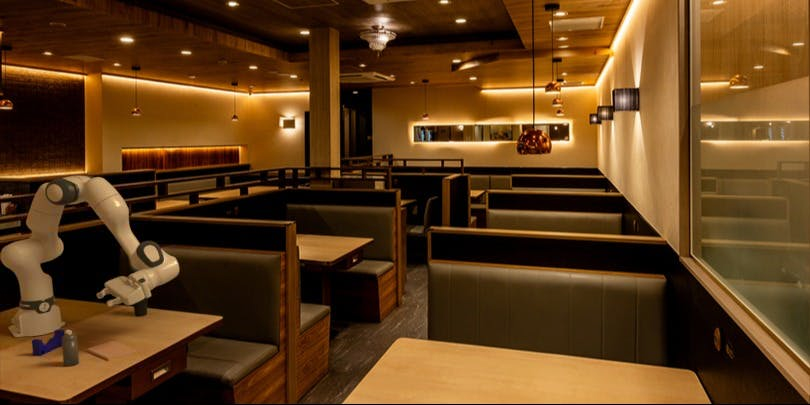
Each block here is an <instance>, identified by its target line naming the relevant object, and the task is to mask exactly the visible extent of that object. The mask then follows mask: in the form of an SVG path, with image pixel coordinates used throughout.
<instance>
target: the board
mask: <svg viewBox="0 0 810 405" xmlns="http://www.w3.org/2000/svg"><path fill="white" fill-rule="evenodd" d="M136 351H137V350H136V348H133V347H130V346H128V345H126V344H123V343H121V342H118V341H115V340H111V341H108V342H104V343H101V344H98V345H94V346H91V347H88V348H86V352H88V353H90V354H93V355H95V356H97V357H99V358H101V359H103V360H106V361H108V362H109V360H110V361H113V360H115V358H116V359H118V357H119V358H121V356H122V357H125V356H127V355H130V354H134V353H136ZM124 355H125V356H124ZM112 359H113V360H112Z"/></svg>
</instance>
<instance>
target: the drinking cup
mask: <svg viewBox="0 0 810 405" xmlns="http://www.w3.org/2000/svg"><path fill="white" fill-rule="evenodd" d="M132 305H133V306H132V307H133V311H134V316H135V317H145V316H147V314H148V298H144V299H143V300H141V301H139V302H137V303H135V304H132Z"/></svg>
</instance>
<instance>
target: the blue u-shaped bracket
mask: <svg viewBox="0 0 810 405" xmlns="http://www.w3.org/2000/svg"><path fill="white" fill-rule="evenodd" d="M53 333H54V334H53V337H51V338H49V339H48V341H46V343H45V344H44V342H43V338H42V339H41V338H40V339H39V338H35V339H32V340H31V348H32V356H33V357H41V356H43V355H46V354H48V353H50V352H51V351H52V352H53V351H54V350H56V348H57V349H59V348H60V347H61V348H62V337H63V336H64V335H65V334H66V331H65V329H61V328H60V329H57V330H55V331H54V332H53ZM58 347H59V348H58Z"/></svg>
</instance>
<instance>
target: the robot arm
mask: <svg viewBox="0 0 810 405" xmlns="http://www.w3.org/2000/svg"><path fill="white" fill-rule="evenodd" d="M83 202H86V203H88V205H89V206H90V207H91V208H92V210H93V211H94V212H95V214H96V215H97V216H98V218H99V219H100V220H101V221H102V222H103V224H104V225H105V226H106V227H107V229H108V230H109V231H110V233H111V234H112V235H113V237H114V239H115V240H116V242H118V244H119V245H120V247H121V248H122V250H123V251H124V253H125V254H126V256H127V258H128V264H129V267H130V269H131V270H132V272H133V273H131V274H129V275H128V276H123V275H121V276H117V277H114V278H113V279H112V278H111V279H110V280H108V281H106V282H105V283H104V287H105V288H103V289H102V290H101V291H100V292H97V293H96V297H97V298H98V300H99V299H103V298H104V296H106V295H112V296H113V297H115V298H114V299H109V300H107V301H106V305H107V306H108V307H112V306H114V305H120V304H122V303H123V304H124V305H126V306H132V305H133V304H135V303H137V302H139V301H141V300H143V299H144V298H147V299H149V298H150V297H152V293H151V291H152V290H153V289H154V288H156V287H159V286H161V285H164V284H166V283H168V282H170V281H171V280H173V279H175V278H177V276H179V273H180V264H179V261H178V260H177V258H176V257H175V256H174V255H173V256H172V255H170V254H168V253H167V252H165V251H164V250H163V248H161V247H160V245H159V244H158V243H157V242H155V241H153V240H146V241H143V242H141V243H140V241H139V240H138V239H137V237H136V236H135V235H134V233H133V231H132V230H131V226H130V219H129V217H130V216H129V213H130V211H129V210H130V209H129V207H128V205H127V203H126V201H125V199H124V198H123V197H122V195H121V194H120V193H119V192H118V190H117V189H116V188H115V187H114V186H113V185H112V184H111V183H110V182H108V180H107V179H105V178H104V177H101V176H96V177H94V176H92V175H87V174H82V175H70V176H66V177H65V176H64V177H61V178H55V179H53V180H51V181H49V182H45V183H43V184H41V185H40V186H39V188H38V190H37V191H36V193H35V195H34V198H33V200H32V202H31V205H30V208H29V211H28V213H27V218H26V220H25V223H26V226H27V228H28V229H30V231H31V235H30V237H29V238H27V239H25V238H24V239H21V240H17V241H14V242H12V243H9V244H7V245H5V246H4V247H3V248H2V249H1V251H0V261H1V263H2V264H3V265H4V266H5V268H8V269H10V270H11V271H12V272H13V273H14V274H15V276H16V278H17V280H18V284H19V291H20V297H21V298H20V300H19V309H18V311H17V312H16V313H15V314H14V317H12V318H11V319H10V320H11V324H12V325H9V326H8V331H9V332H10V333H11V334H12V336H13V338H22V337H36V336H37V337H38V336H43V335H47V334H50V333H54V331H55V330H57V329H60V330H61V329H62V327H63V326H65V325H66V322H65V321H62V316H61V312H60V307H59V306H57V305H56V297H55V294H54V291H53V290H54V289H53V288H54V287H53V279H52V276H50V275H49V274H47V273H45V272H44V271H43V270H42V267H41V264H43V263H47V262H50V261H53V260H54V259H56V258H58V257H59V256H61V255H62V253H63V251H64V242H63V241H62V239H61V238H60V237H59V236H58V229H59V225H60V221H61V218H62V215H63V211H64V209H65V206H68V205H69V206H70V205H77V204H80V203H83Z"/></svg>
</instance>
